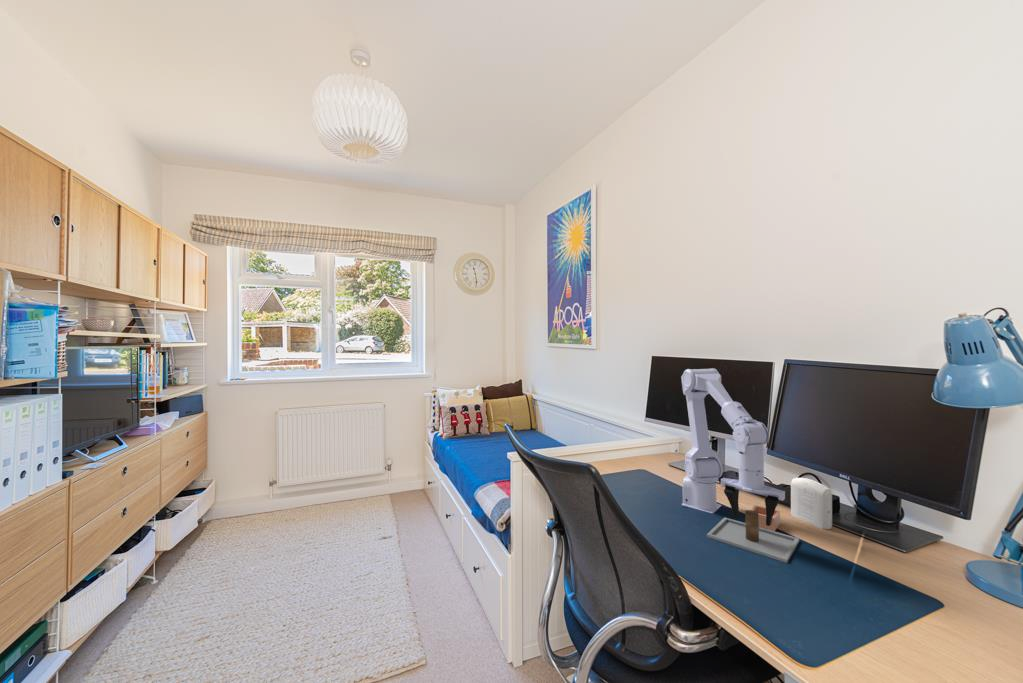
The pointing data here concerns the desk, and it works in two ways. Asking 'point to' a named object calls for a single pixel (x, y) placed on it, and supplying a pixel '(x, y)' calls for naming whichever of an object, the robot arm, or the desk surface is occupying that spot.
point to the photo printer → (811, 502)
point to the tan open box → (762, 518)
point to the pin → (752, 525)
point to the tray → (767, 545)
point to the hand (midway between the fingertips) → (752, 519)
